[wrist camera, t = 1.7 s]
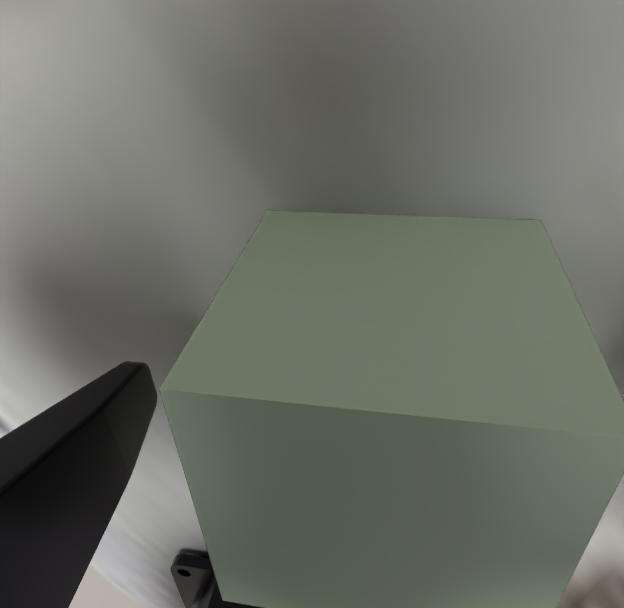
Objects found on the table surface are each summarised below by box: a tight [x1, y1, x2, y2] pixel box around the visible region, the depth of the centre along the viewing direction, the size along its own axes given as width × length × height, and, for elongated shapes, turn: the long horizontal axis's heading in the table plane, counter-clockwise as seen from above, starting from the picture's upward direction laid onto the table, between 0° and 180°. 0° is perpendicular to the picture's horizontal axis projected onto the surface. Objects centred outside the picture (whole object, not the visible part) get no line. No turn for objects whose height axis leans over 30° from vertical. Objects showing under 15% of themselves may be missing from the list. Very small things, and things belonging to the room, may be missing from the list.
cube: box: [159, 210, 624, 608], centre depth 9 cm, size 5×5×5 cm
